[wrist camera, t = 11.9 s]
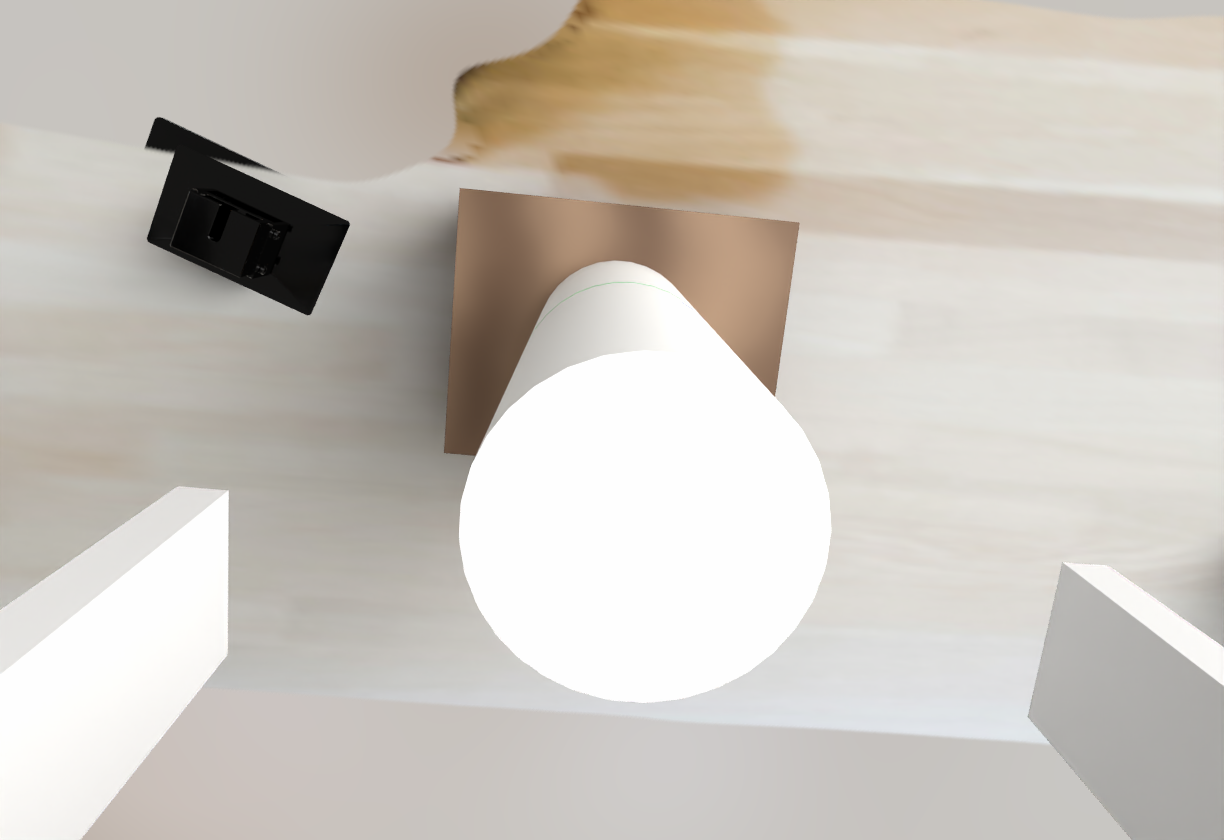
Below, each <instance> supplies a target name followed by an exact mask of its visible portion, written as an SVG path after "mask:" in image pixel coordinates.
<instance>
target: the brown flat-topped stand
mask: <svg viewBox="0 0 1224 840" xmlns="http://www.w3.org/2000/svg"><path fill="white" fill-rule="evenodd" d="M798 230H799V223H797V222H788V221H779V220H769V219H759V218H749V217H739V216H729V215H719V214H710V213H700V212H690V211H680V210H670V209H660V208H650V207H641V206H631V205H621V204H611V203H601V202H591V201H581V200H572V199H562V198H552V197H542V196H532V195H522V194H512V193H503V192H493V191H483V190H473V189H463V188H460V193H459V210H458V227H457V243H456V260H455V277H454V294H453V311H452V328H451V344H450V361H449V378H448V395H447V412H446V429H445V446H444V453H451V454H462V455H474V456H476V454H477V452H478V450H479V448H480V445H481V443H482V441H483V439H484V437H485V435H486V432H487V430H488V428H489V426H490V424H491V421H492V419H493V417H494V415H495V413H496V410H497V408H498V406H499V404H500V402H501V399H502V397H503V395H504V393H505V391H506V389H507V386H508V384H509V382H510V380H511V378H512V375H513V373H514V371H515V369H516V367H517V364H518V362H519V360H520V358H521V356H522V353H523V351H524V349H525V347H526V345H527V343H528V340H529V338H530V336H531V334H532V332H533V330H534V327H535V325H536V323H537V321H538V319H539V317H540V314H541V312H542V310H543V308H544V306H545V304H546V302H547V300H548V298H549V297H550V295H551V294H552V293H553V291H554V290H555V289H556V288H557V286H558V285H559V284H560V283H561V282H563V281H564V280H565V279H566V278H567V277H568V276H569V275H571V274H573V273H575V272H576V271H578V270H580V269H581V268H583V267H586V266H589V265H592V264H595V263H598V262H606V261H614V260H615V261H626V262H633V263H636V264H640V265H643V266H646V267H648V268H650V269H652V270H654V271H656V272H657V273H659V274H661V275H662V276H663V277H664V278H666V279H667V280H668V281H669V282H671V283H672V284H673V286H674V287H675V288H676V289H677V290H678V291H679V292H680V293H681V294H682V295H683V297H684V298H685V299H686V300H687V301H688V302H689V303H690V304H691V305H692V306H693V308H694V309H695V310H696V311H697V312H698V313H699V314H700V315H701V316H702V318H703V319H704V320H705V321H706V322H707V323H708V324H709V325H710V326H711V327H712V329H713V330H714V331H715V332H716V333H717V334H718V335H719V336H720V337H721V339H722V340H723V341H724V342H725V343H726V344H727V345H728V346H729V347H730V348H731V350H732V351H733V352H734V353H735V354H736V355H737V356H738V357H739V358H740V359H741V361H742V362H743V363H744V364H745V365H746V366H747V367H748V368H749V369H750V371H751V372H752V373H753V374H754V375H755V376H756V377H757V378H758V379H759V380H760V382H761V383H762V384H763V385H764V386H765V387H766V388H767V389H768V390H769V391H770V393H771V394H772V395H773V396H774V397H775V392H776V385H777V378H778V371H779V364H780V357H781V350H782V343H783V336H784V329H785V322H786V315H787V308H788V301H789V293H790V286H791V279H792V272H793V265H794V258H795V251H796V244H797V237H798Z"/></svg>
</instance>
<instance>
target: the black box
mask: <svg viewBox="0 0 1224 840" xmlns="http://www.w3.org/2000/svg"><path fill="white" fill-rule="evenodd" d="M145 149H150V150H156V151H161V152H166V153H173V154H174V157H173V160H172V163H171V166H170V169H169V172H168V175H167V178H166V181H165V184H164V188H163V191H162V194H161V197H160V200H159V203H158V206H157V209H156V212H155V215H154V218H153V221H152V224H151V228H150V231H149V234H148V237H147V240H148V242H150V243H152V244H154V245H156V246H158V247H160V248H163V249H165V250H167V251H169V252H171V253H173V254H176V255H178V256H180V257H182V258H184V259H186V260H189V261H191V262H193V263H195V264H197V265H199V266H201V267H204V268H206V269H208V270H210V271H212V272H214V273H217V274H219V275H221V276H223V277H225V278H227V279H230V280H232V281H234V282H236V283H238V284H240V285H243V286H245V287H247V288H249V289H251V290H253V291H256V292H258V293H260V294H262V295H264V296H266V297H269V298H271V299H273V300H275V301H277V302H279V303H282V304H284V305H286V306H288V307H290V308H292V309H295V310H297V311H299V312H301V313H303V314H305V315H310V314H311V313H312V311H313V308H314V306H315V304H316V301H317V299H318V297H319V295H320V292H321V290H322V288H323V285H324V283H325V281H326V279H327V276H328V274H329V272H330V269H331V267H332V265H333V263H334V260H335V258H336V256H337V253H338V251H339V249H340V247H341V244H342V242H343V240H344V237H345V235H346V233H347V231H348V228H349V226H350V224H349V222H348V221H346V220H344V219H342V218H340V217H338V216H336V215H333V214H331V213H329V212H327V211H325V210H323V209H320V208H318V207H316V206H314V205H312V204H310V203H307V202H305V201H303V200H301V199H299V198H297V197H294V196H292V195H290V194H288V193H286V192H283V191H281V190H279V189H277V188H275V187H273V186H270V185H268V184H266V183H264V182H262V181H260V180H257V179H255V178H253V177H251V176H249V175H247V174H244V173H242V172H240V171H238V170H236V169H234V168H231V167H229V166H227V165H225V164H223V163H228V164H234V165H239V166H244V167H251V168H256V169H261V170H268V171H273V172H277V171H275V170H273V169H271V168H269V167H266V166H264V165H262V164H260V163H258V162H256V161H253V160H252V159H250V158H247V157H245V156H243V155H241V154H239V153H237V152H235V151H233V150H230V149H228V148H226V147H224V146H222V145H220V144H218V143H216V142H213V141H211V140H209V139H207V138H205V137H203V136H201V135H199V134H196V133H194V132H192V131H190V130H188V129H186V128H184V127H182V126H180V125H177V124H175V123H173V122H171V121H169V120H167V119H165V118H161V117H157V118H156V119H155V120H154V122H153V125H152V128H151V131H150V134H149V137H148V140H147V142H146V145H145ZM220 162H223V163H220Z"/></svg>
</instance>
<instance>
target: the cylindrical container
mask: <svg viewBox="0 0 1224 840" xmlns="http://www.w3.org/2000/svg"><path fill="white" fill-rule="evenodd" d="M830 536H831V519H830V504H829V494H828V490H827V487H826V483H825V480H824V476H823V473H822V470H821V466H820V463H819V460H818V458H817V456H816V454H815V452H814V451H813V449H812V447H811V445H810V443H809V441H808V439H807V438H806V436H805V434H804V432H803V430H802V429H801V428H800V426H799V425H798V424H797V423H796V422H795V420H794V419H793V418H792V417H791V416H790V414H789V413H788V412H787V411H786V410H785V408H784V407H783V406H782V405H781V404H780V403H779V401H778V400H777V399H776V398H775V397H774V396H773V395H772V394H771V393H770V391H769V390H768V389H767V388H766V387H765V386H764V385H763V384H762V383H761V382H760V380H759V379H758V378H757V377H756V376H755V375H754V374H753V373H752V372H751V371H750V369H749V368H748V367H747V366H746V365H745V364H744V363H743V362H742V361H741V359H740V358H739V357H738V356H737V355H736V354H735V353H734V352H733V351H732V350H731V348H730V347H729V346H728V345H727V344H726V343H725V342H724V341H723V340H722V339H721V337H720V336H719V335H718V334H717V333H716V332H715V331H714V330H713V329H712V327H711V326H710V325H709V324H708V323H707V322H706V321H705V320H704V319H703V318H702V316H701V315H700V314H699V313H698V312H697V311H696V310H695V309H694V308H693V306H692V305H691V304H690V303H689V302H688V301H687V300H686V299H685V298H684V297H683V295H682V294H681V293H680V292H679V291H678V290H677V289H676V288H675V287H674V286H673V284H672V283H671V282H669V281H668V280H667V279H666V278H664V277H663V276H662V275H661V274H659V273H657V272H656V271H654V270H652V269H650V268H648V267H646V266H643V265H640V264H636V263H633V262H626V261H615V260H614V261H606V262H598V263H595V264H592V265H589V266H586V267H583V268H581V269H580V270H578V271H576V272H575V273H573V274H571V275H569V276H568V277H567V278H566V279H565V280H564V281H563V282H561V283H560V284H559V285H558V286H557V288H556V289H555V290H554V291H553V293H552V294H551V295H550V297H549V298H548V300H547V302H546V304H545V306H544V308H543V310H542V312H541V314H540V317H539V319H538V321H537V323H536V325H535V327H534V330H533V332H532V334H531V336H530V338H529V340H528V343H527V345H526V347H525V349H524V351H523V353H522V356H521V358H520V360H519V362H518V364H517V367H516V369H515V371H514V373H513V375H512V378H511V380H510V382H509V384H508V386H507V389H506V391H505V393H504V395H503V397H502V399H501V402H500V404H499V406H498V408H497V410H496V413H495V415H494V417H493V419H492V421H491V424H490V426H489V428H488V430H487V432H486V435H485V437H484V439H483V441H482V443H481V445H480V448H479V450H478V452H477V454H476V456H475V459H474V461H473V463H472V465H471V468H470V471H469V475H468V478H467V482H466V486H465V489H464V493H463V496H462V500H461V509H460V528H459V542H460V548H461V554H462V560H463V566H464V572H465V576H466V579H467V581H468V584H469V586H470V589H471V591H472V594H473V596H474V599H475V601H476V604H477V606H478V608H479V610H480V611H481V613H482V614H483V616H484V617H485V619H486V620H487V622H488V623H489V625H490V626H491V628H492V629H493V631H494V632H495V634H496V635H497V636H498V637H499V638H500V639H501V640H502V641H503V642H504V643H505V645H506V646H507V647H508V648H509V649H510V650H511V651H512V652H513V653H514V654H515V655H516V656H517V657H518V658H519V659H521V660H522V661H523V662H525V663H526V664H528V665H529V666H531V667H532V668H533V669H535V670H536V671H538V672H539V673H540V674H542V675H543V676H545V677H546V678H549V679H551V680H553V681H555V682H557V683H559V684H561V685H563V686H566V687H568V688H570V689H572V690H574V691H577V692H580V693H584V694H588V695H592V696H596V697H600V698H603V699H607V700H613V701H627V702H641V703H650V702H659V701H667V700H676V699H684V698H687V697H690V696H693V695H696V694H700V693H703V692H706V691H709V690H713V689H716V688H718V687H720V686H722V685H724V684H726V683H728V682H730V681H732V680H734V679H736V678H738V677H740V676H741V675H743V674H745V673H747V672H749V671H750V670H751V669H753V668H754V667H755V666H757V665H758V664H759V663H760V662H762V661H763V660H764V659H766V658H767V657H768V656H770V655H771V654H772V653H773V652H774V651H775V650H776V649H777V648H778V647H779V646H780V645H781V644H782V643H783V642H784V641H785V639H786V638H787V637H788V636H789V635H790V634H791V633H792V632H793V631H794V630H795V629H796V627H797V625H798V624H799V622H800V621H801V619H802V617H803V616H804V614H805V613H806V611H807V609H808V608H809V606H810V605H811V603H812V601H813V600H814V597H815V594H816V592H817V589H818V586H819V584H820V581H821V578H822V576H823V573H824V570H825V568H826V563H827V556H828V550H829V543H830Z"/></svg>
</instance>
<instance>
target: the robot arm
mask: <svg viewBox="0 0 1224 840" xmlns="http://www.w3.org/2000/svg"><path fill="white" fill-rule="evenodd" d="M228 497H229V490H217V489H206V488H194V487H182V486H177V487H176V488H174V489H173V490H171V491H170V492H169V493H167V494H166V495H164V496H163V497H161V498H160V499H159V500H157V501H156V502H154V503H153V504H151V505H150V506H148V507H147V508H146V509H144V510H143V511H141V512H140V513H138V514H137V515H136V516H134V517H133V518H131V519H130V520H128V521H127V522H126V523H124V524H123V525H121V526H120V527H118V528H117V529H115V530H114V531H113V532H111V533H110V534H108V535H107V536H105V537H104V538H103V539H101V540H100V541H98V542H97V543H95V544H94V545H93V546H91V547H90V548H88V549H87V550H85V551H84V552H82V553H81V554H80V555H78V556H77V557H75V558H74V559H72V560H71V561H70V562H68V563H67V564H65V565H64V566H62V567H61V568H60V569H58V570H57V571H55V572H54V573H52V574H51V575H49V576H48V577H47V578H45V579H44V580H42V581H41V582H39V583H38V584H37V585H35V586H34V587H32V588H31V589H29V590H28V591H27V592H25V593H24V594H22V595H21V596H19V597H18V598H16V599H15V600H14V601H12V602H11V603H9V604H8V605H6V606H5V607H4V608H2V609H1V610H0V840H81V838H82V837H83V836H84V835H85V833H86V832H87V831H88V830H89V829H90V827H91V826H92V824H94V822H95V821H96V820H97V818H98V817H99V816H100V815H101V813H102V812H103V811H104V810H105V808H106V807H107V806H108V805H109V803H110V802H111V801H112V800H113V798H114V797H115V796H116V795H117V793H118V792H119V791H120V790H121V788H122V787H123V786H124V785H125V783H126V782H127V781H128V779H129V778H130V777H131V776H132V774H133V773H134V772H135V771H136V769H137V768H138V767H139V766H140V764H141V763H142V762H143V761H144V759H145V758H146V757H147V756H148V754H149V753H150V752H151V751H152V749H153V748H154V747H155V746H156V744H157V743H158V742H159V740H160V739H161V738H162V737H163V735H164V734H165V733H166V732H167V730H168V729H169V728H170V727H171V725H172V724H173V723H174V722H175V720H176V719H177V718H178V717H179V715H180V714H181V713H182V712H183V710H184V709H185V708H186V706H187V705H188V704H189V703H190V701H191V700H192V699H193V698H194V696H195V695H196V694H197V693H198V691H199V690H200V689H201V688H202V686H203V685H204V684H205V683H206V681H207V680H208V679H209V678H210V676H211V675H212V674H213V673H214V671H215V670H216V669H217V667H218V666H219V665H220V664H221V662H222V661H223V660H224V659H225V657H226V656H227V655H228ZM1028 718H1029V719H1030V720H1031V721H1032V722H1033V724H1034V725H1035V726H1036V727H1037V728H1038V729H1039V731H1040V732H1041V733H1042V734H1043V735H1044V737H1045V738H1046V739H1047V740H1048V741H1049V743H1050V744H1051V745H1052V746H1053V747H1054V748H1055V749H1056V751H1057V752H1058V753H1059V754H1060V756H1061V757H1062V758H1063V759H1064V760H1065V761H1066V763H1067V764H1068V765H1069V766H1070V767H1071V769H1072V770H1073V771H1074V772H1075V773H1076V774H1077V776H1078V777H1079V778H1080V779H1081V780H1082V782H1084V784H1085V785H1086V786H1087V787H1088V789H1089V790H1090V791H1091V792H1092V793H1093V795H1094V796H1095V797H1096V798H1097V799H1098V800H1099V802H1100V803H1101V804H1102V805H1103V806H1104V807H1105V809H1106V810H1107V811H1108V812H1109V813H1110V815H1111V816H1112V817H1113V818H1114V819H1115V821H1116V822H1117V823H1118V824H1119V825H1120V827H1121V828H1122V829H1123V830H1124V831H1125V832H1126V833H1127V835H1128V836H1129V837H1130V838H1131V840H1224V647H1223V646H1221V645H1220V644H1219V643H1217V642H1216V641H1214V640H1213V639H1212V638H1210V637H1209V636H1207V635H1206V634H1204V633H1203V632H1202V631H1200V630H1199V629H1197V628H1196V627H1195V626H1193V625H1192V624H1190V623H1189V622H1187V621H1186V620H1185V619H1183V618H1182V617H1180V616H1179V615H1178V614H1176V613H1175V612H1173V611H1172V610H1171V609H1169V608H1168V607H1166V606H1165V605H1163V604H1162V603H1161V602H1159V601H1158V600H1156V599H1155V598H1154V597H1152V596H1151V595H1149V594H1148V593H1146V592H1145V591H1144V590H1142V589H1141V588H1139V587H1138V586H1137V585H1135V584H1134V583H1132V582H1131V581H1130V580H1128V579H1127V578H1125V577H1124V576H1122V575H1121V574H1120V573H1118V572H1117V571H1115V570H1114V569H1113V568H1111V567H1110V566H1103V565H1091V564H1080V563H1068V562H1062V566H1061V571H1060V575H1059V580H1058V584H1057V589H1056V593H1055V598H1054V602H1053V607H1052V611H1051V615H1050V620H1049V624H1048V629H1047V633H1046V638H1045V642H1044V647H1043V651H1042V656H1041V660H1040V665H1039V669H1038V673H1037V678H1036V682H1035V687H1034V691H1033V696H1032V700H1031V705H1030V709H1029V714H1028Z"/></svg>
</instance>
